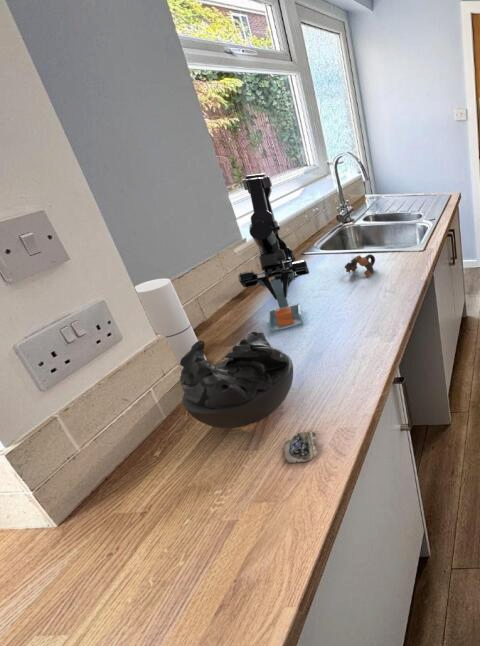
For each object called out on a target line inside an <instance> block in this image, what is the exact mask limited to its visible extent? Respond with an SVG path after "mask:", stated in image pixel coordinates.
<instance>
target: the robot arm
mask: <svg viewBox="0 0 480 646" xmlns="http://www.w3.org/2000/svg"><path fill="white" fill-rule="evenodd" d="M241 182H242V186H243V189H244V191H247V193H248V194H249V195H250V200H251V204H252V211H253V213H252V215H250V223H251V224H249V235H250V237H251V238H252V239H253V241H254V243H255V244H256V245H257V247H258V250H259V256H258V261H259V263H260V268H261V272H257V273H255V272H254V270H249V271H243V272H240V273H239V274H238V276H237V277H238V281H239V283H240V284H241V285H242V287H243V288H251V287H255V286H257V285H258V284H259V286H261V287H265V288H266V289H267V290H268V291H269V293H270V294H271V295H272V297H273V299H274V300H275V301H277V298H276V295H275V292H274V289H273V286H272V284H271V281H274V280H278V279H280V280H281V282H282V286H283V291H284V296H285V298H286V299H287V298H288V293H289V289H290V285H291V284H292V281H293V280H295V279H296V278H295V277H298V276H299V277H301V276H305V275H309V274H310V270H309V266H308V262H307V261H305V260H303V259H301V260H298V261H296V256H295V253H294V251H293V249H291V248H290V246H288V244H287V242H286V241H285V240H283V239H282V238H281V236H280V233H279V232H280V230H281V224H280V222H279V221H277V220H276V219H275V214H274V212H273V207H272V204H271V201H270V196H271V194H272V187H273V184H272V180H271V177H270V175H266V173H264V172H263V173H257V174H250V175H249V174H247V175H245V178H242V179H241ZM270 278H272V280H271V279H270Z"/></svg>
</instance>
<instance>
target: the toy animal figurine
mask: <svg viewBox="0 0 480 646" xmlns="http://www.w3.org/2000/svg"><path fill="white" fill-rule="evenodd" d="M375 263H376V257H375V256H374V255H373V254H371V253H370V254H366V255H365V256H361V255H359V254H358V255H356V256H355V257H354V258H352V259H351V260H350V262H347V263H346V264H345V265H344V268H345V272H346V273H349V274H350V273H351V272H353V273H355V271H356V270H357V269H358V265H360V267H364V268H366V270H365V271H364V273H363V274H364V275H365V277H366V278H369V277H370V276H372V274H373V273H375V269H374V265H375Z"/></svg>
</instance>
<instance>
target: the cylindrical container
mask: <svg viewBox="0 0 480 646" xmlns="http://www.w3.org/2000/svg"><path fill="white" fill-rule="evenodd" d="M134 287H135V289H136V291H137V294H138V296H139V298H140V300H141V302H142V305H143V307H144V309H145V312H146V314H147V316H148V318H149V321H150V323H151V325H152V327H153V329H154V330H155V332H156V333H158V334H161V335H164V336H165V337H166V338H167V339H168V341H169V343H170V346H171V349H172V352H173V353H174V355H175V357H176V359H177V361H178V364H179V366H180V368H181V370H182V369H183V366H181V365H180V361H181V359H182V357H184V356H185V355H186V353H188V352H189V351H190V350H191V347H192V346H193V345H194V344H195V343H196V342H198V341H199V340H198V337H197V336H196V333H195V331H194V329H193V327H192V324H191V322H190V320H189V318H188V315H187V313H186V311H185V309H184V306H183V305H182V303H181V300H180V298H179V296H178V293H177V292H176V289H175V287H174V285H173V283H172V280H171V279H170V278H165V277H164V278H156V279H151V280H147V281H144V282H141V283H139V284H137V285H135V286H134ZM204 357H205V359H206V360H207V358H206V355H205V354H204ZM208 365H210V364H209V363H208Z"/></svg>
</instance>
